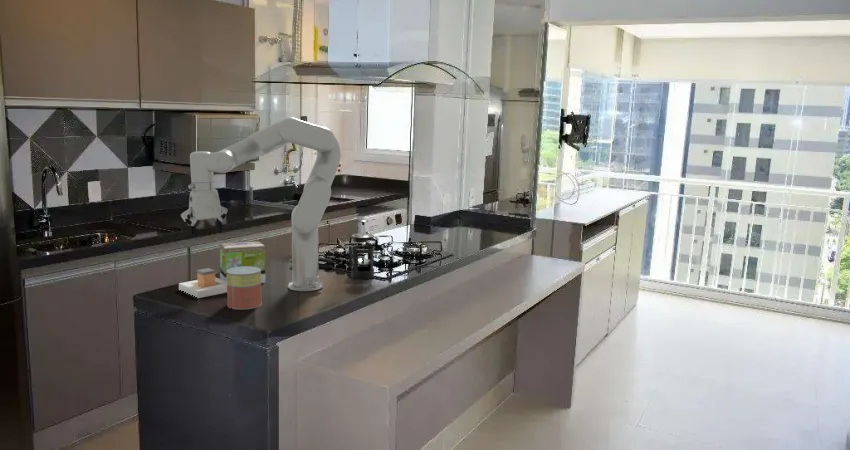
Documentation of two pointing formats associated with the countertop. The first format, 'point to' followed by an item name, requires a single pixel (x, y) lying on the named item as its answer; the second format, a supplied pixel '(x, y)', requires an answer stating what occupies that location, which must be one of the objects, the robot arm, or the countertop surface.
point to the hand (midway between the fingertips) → (206, 234)
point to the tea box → (242, 257)
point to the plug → (206, 277)
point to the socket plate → (199, 292)
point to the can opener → (324, 261)
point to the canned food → (244, 287)
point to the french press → (362, 271)
